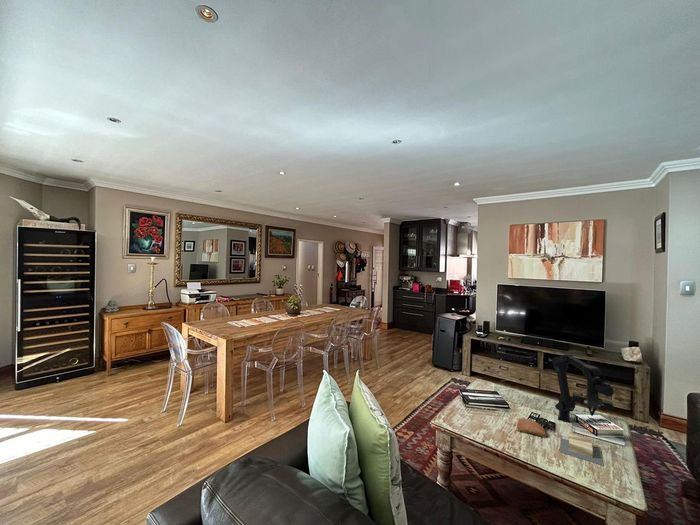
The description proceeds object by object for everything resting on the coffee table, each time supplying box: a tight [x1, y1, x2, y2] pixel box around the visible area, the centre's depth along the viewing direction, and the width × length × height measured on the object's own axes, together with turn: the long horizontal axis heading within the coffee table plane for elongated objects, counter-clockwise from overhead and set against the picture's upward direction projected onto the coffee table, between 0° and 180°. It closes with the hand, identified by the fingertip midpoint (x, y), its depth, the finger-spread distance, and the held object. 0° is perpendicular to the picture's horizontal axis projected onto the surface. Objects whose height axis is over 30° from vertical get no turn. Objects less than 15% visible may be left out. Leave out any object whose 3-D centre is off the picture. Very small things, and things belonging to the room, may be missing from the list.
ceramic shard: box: [516, 417, 547, 438], centre depth 187 cm, size 15×6×15 cm
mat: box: [559, 437, 604, 466], centre depth 165 cm, size 16×18×1 cm
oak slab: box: [568, 432, 594, 458], centre depth 168 cm, size 4×10×13 cm
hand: (591, 415), depth 179 cm, fingers closed
